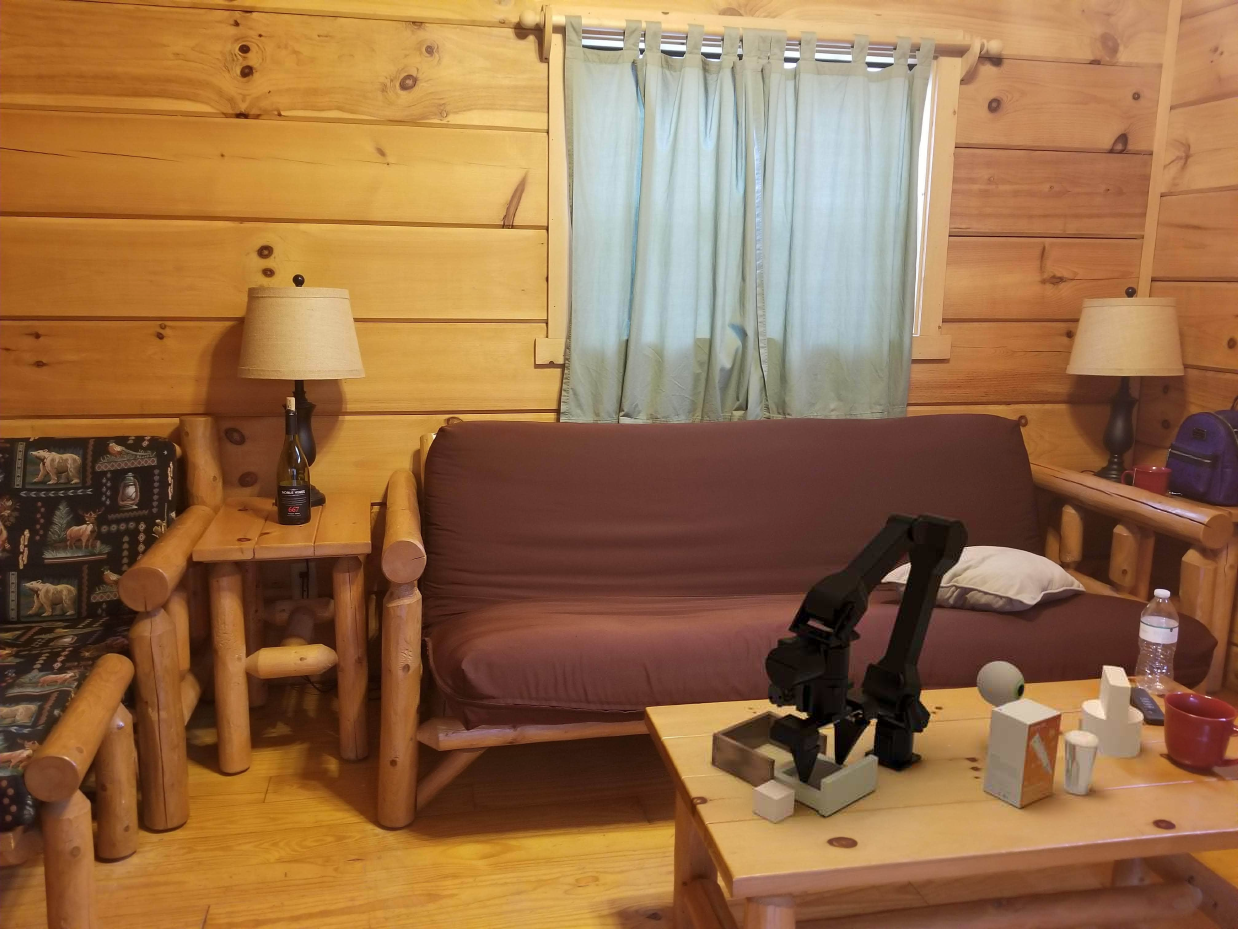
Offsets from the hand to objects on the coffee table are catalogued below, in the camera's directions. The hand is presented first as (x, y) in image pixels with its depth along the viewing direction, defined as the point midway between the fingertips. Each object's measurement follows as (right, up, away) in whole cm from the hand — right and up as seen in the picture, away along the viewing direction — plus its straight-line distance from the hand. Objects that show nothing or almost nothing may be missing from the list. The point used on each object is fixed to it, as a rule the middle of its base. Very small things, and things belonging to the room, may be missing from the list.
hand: (821, 773), depth 146 cm
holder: (-7, -1, +8) cm, 10 cm away
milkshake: (+38, -3, +3) cm, 39 cm away
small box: (+29, -3, +1) cm, 29 cm away
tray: (-1, -2, +1) cm, 3 cm away
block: (-8, -4, -6) cm, 11 cm away
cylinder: (0, -2, 0) cm, 2 cm away
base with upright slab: (+51, -1, +17) cm, 53 cm away
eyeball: (+31, -1, +14) cm, 34 cm away
